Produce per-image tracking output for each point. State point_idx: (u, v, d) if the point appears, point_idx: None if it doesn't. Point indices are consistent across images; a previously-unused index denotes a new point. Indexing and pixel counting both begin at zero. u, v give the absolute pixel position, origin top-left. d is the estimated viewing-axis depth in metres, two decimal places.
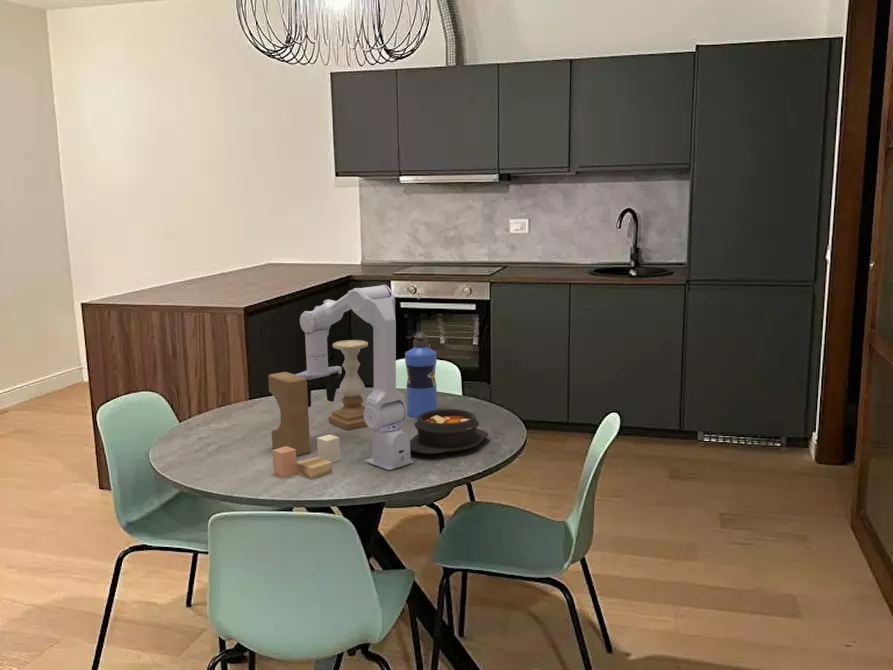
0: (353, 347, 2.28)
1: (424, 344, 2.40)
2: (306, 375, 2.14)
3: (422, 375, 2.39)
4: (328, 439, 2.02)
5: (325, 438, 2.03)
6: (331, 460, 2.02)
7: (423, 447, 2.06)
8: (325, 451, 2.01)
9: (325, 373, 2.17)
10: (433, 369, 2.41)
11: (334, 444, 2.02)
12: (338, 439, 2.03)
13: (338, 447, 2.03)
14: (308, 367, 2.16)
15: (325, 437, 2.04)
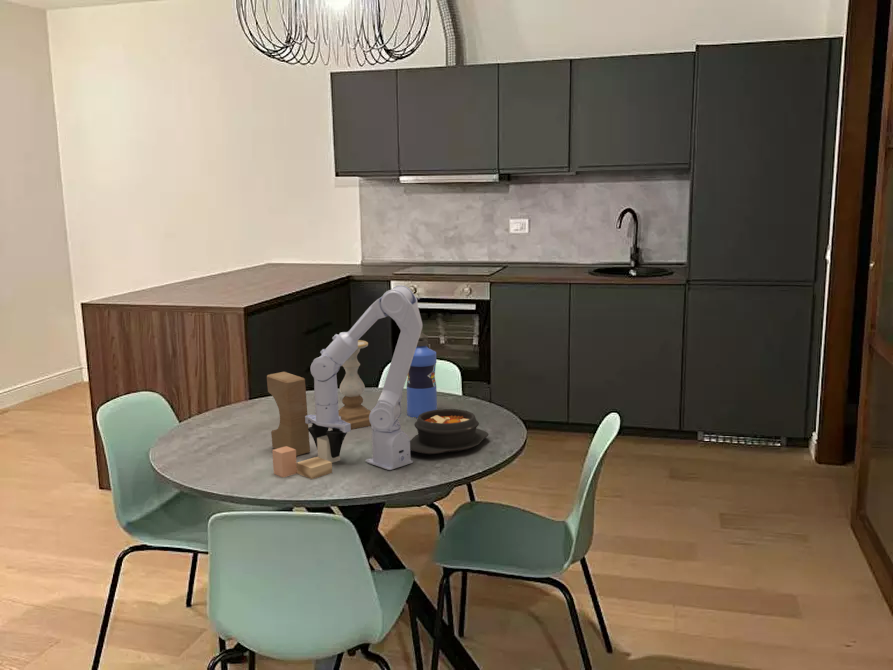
0: None
1: (424, 344, 2.40)
2: (310, 419, 2.04)
3: (422, 375, 2.39)
4: (328, 439, 2.02)
5: (325, 437, 2.03)
6: (331, 460, 2.02)
7: (423, 447, 2.06)
8: (325, 451, 2.01)
9: (319, 424, 2.00)
10: (433, 369, 2.41)
11: None
12: None
13: None
14: None
15: (325, 437, 2.04)
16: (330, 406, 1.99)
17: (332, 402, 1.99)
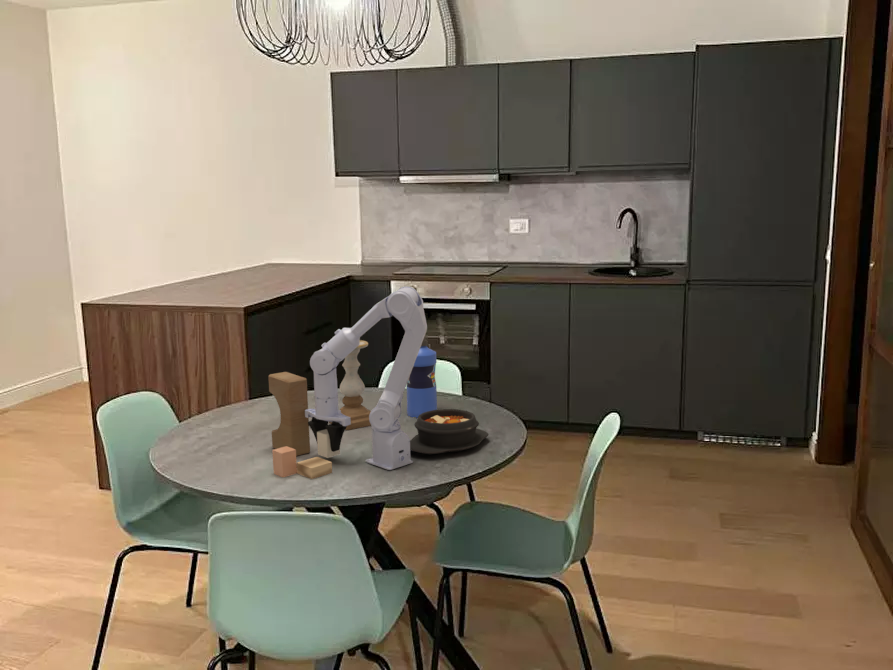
0: None
1: (424, 344, 2.40)
2: (309, 413, 2.04)
3: (422, 375, 2.39)
4: (328, 433, 2.02)
5: (325, 431, 2.03)
6: (331, 454, 2.02)
7: (423, 447, 2.06)
8: (325, 445, 2.01)
9: (319, 417, 2.00)
10: (433, 369, 2.41)
11: None
12: None
13: None
14: None
15: (325, 431, 2.03)
16: (330, 400, 1.99)
17: (332, 396, 1.99)
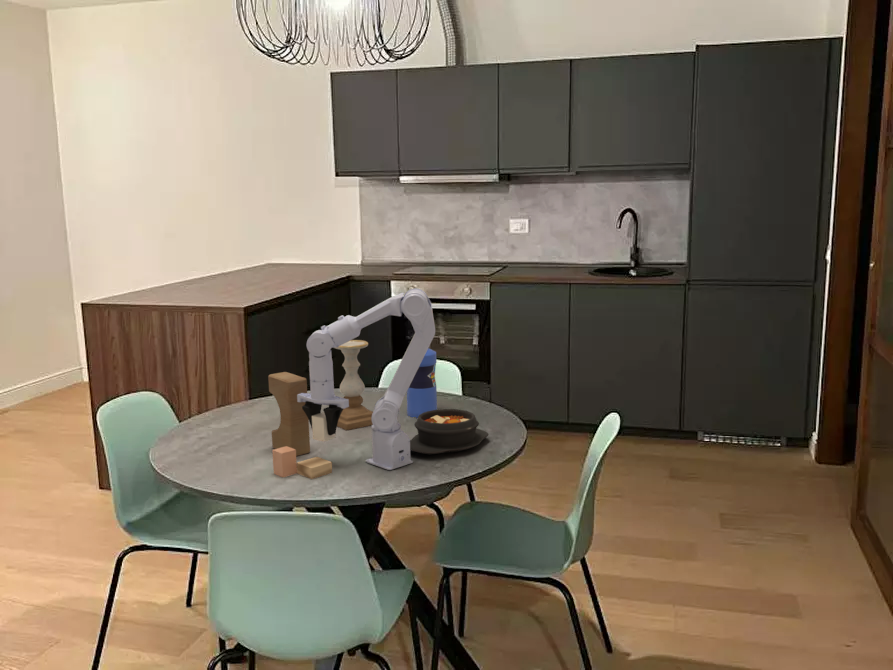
0: (353, 347, 2.28)
1: None
2: (303, 397, 2.00)
3: (422, 375, 2.39)
4: (324, 416, 1.98)
5: (320, 415, 1.99)
6: (327, 438, 1.99)
7: (423, 447, 2.06)
8: (322, 429, 1.98)
9: (316, 401, 1.96)
10: (433, 369, 2.41)
11: None
12: None
13: None
14: None
15: (320, 415, 2.00)
16: (327, 382, 1.96)
17: (329, 378, 1.96)
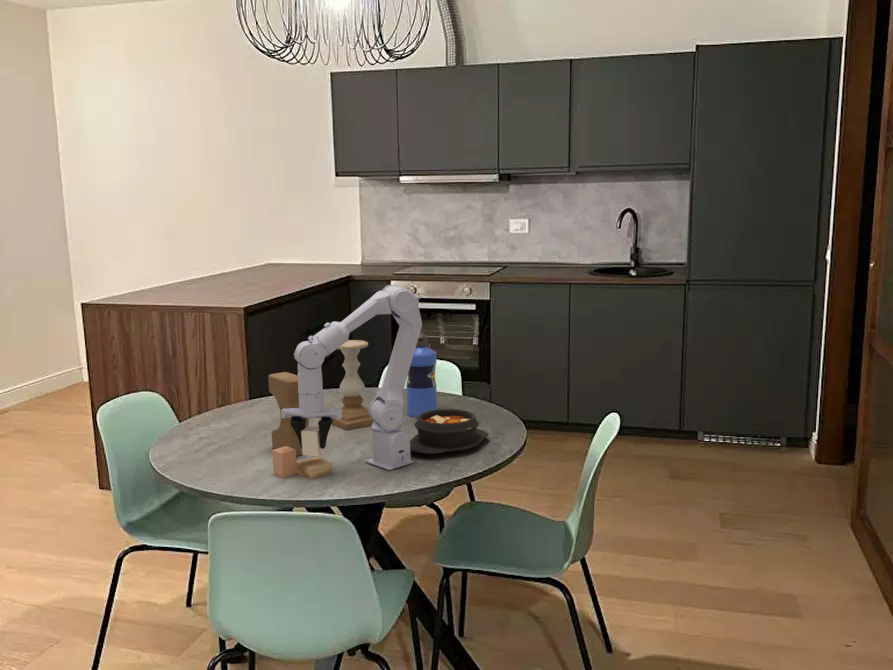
0: (353, 347, 2.28)
1: (424, 344, 2.40)
2: (290, 412, 1.92)
3: (421, 375, 2.39)
4: (315, 430, 1.92)
5: (310, 429, 1.93)
6: (319, 451, 1.93)
7: (423, 447, 2.06)
8: (314, 443, 1.92)
9: (309, 415, 1.90)
10: (433, 369, 2.41)
11: None
12: None
13: None
14: None
15: (309, 429, 1.93)
16: (320, 394, 1.90)
17: (321, 390, 1.91)
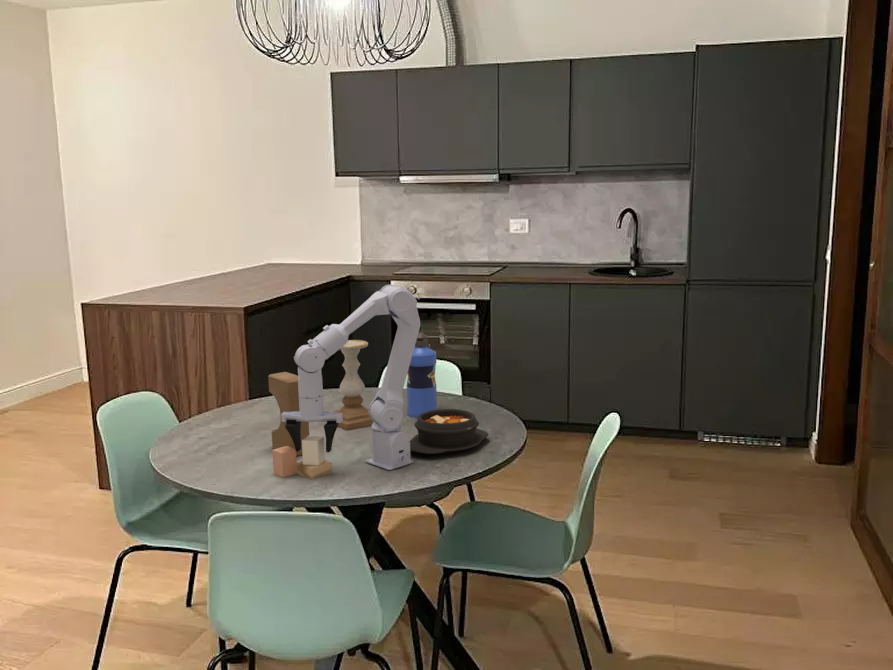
0: (353, 347, 2.28)
1: (424, 344, 2.40)
2: (290, 416, 1.92)
3: (422, 375, 2.39)
4: (316, 439, 1.93)
5: (310, 439, 1.93)
6: (320, 461, 1.93)
7: (423, 447, 2.06)
8: (315, 452, 1.92)
9: (309, 418, 1.90)
10: (433, 369, 2.41)
11: (321, 444, 1.94)
12: (323, 438, 1.95)
13: (323, 446, 1.95)
14: None
15: (309, 438, 1.94)
16: (320, 398, 1.91)
17: (321, 394, 1.91)
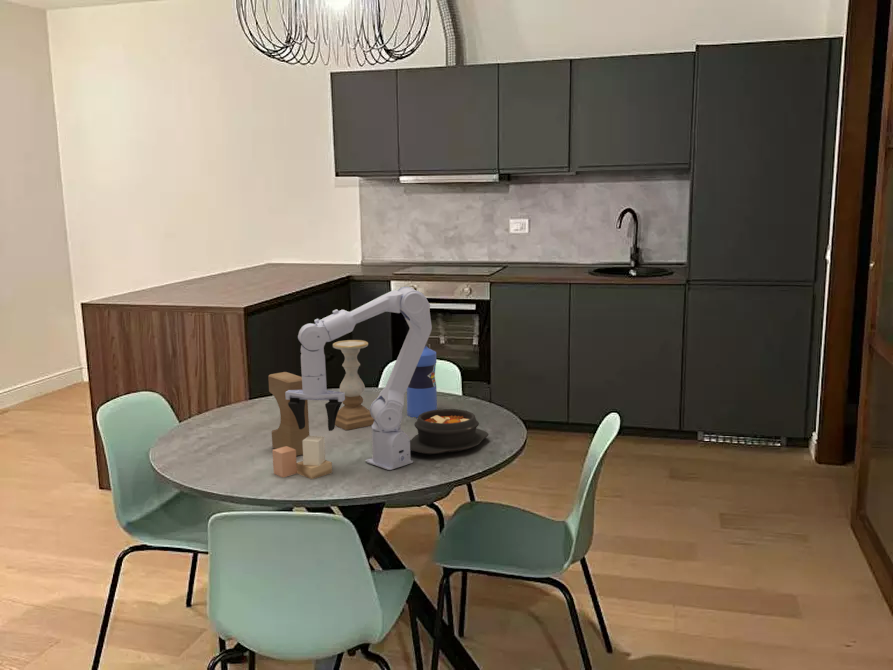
0: (353, 347, 2.28)
1: None
2: (294, 394, 1.94)
3: (422, 375, 2.39)
4: (317, 440, 1.93)
5: (311, 439, 1.93)
6: (321, 461, 1.93)
7: (423, 447, 2.06)
8: (316, 452, 1.92)
9: (311, 396, 1.91)
10: (433, 369, 2.41)
11: (321, 444, 1.94)
12: (323, 438, 1.95)
13: (324, 447, 1.95)
14: None
15: (310, 438, 1.93)
16: (322, 376, 1.92)
17: (323, 372, 1.92)
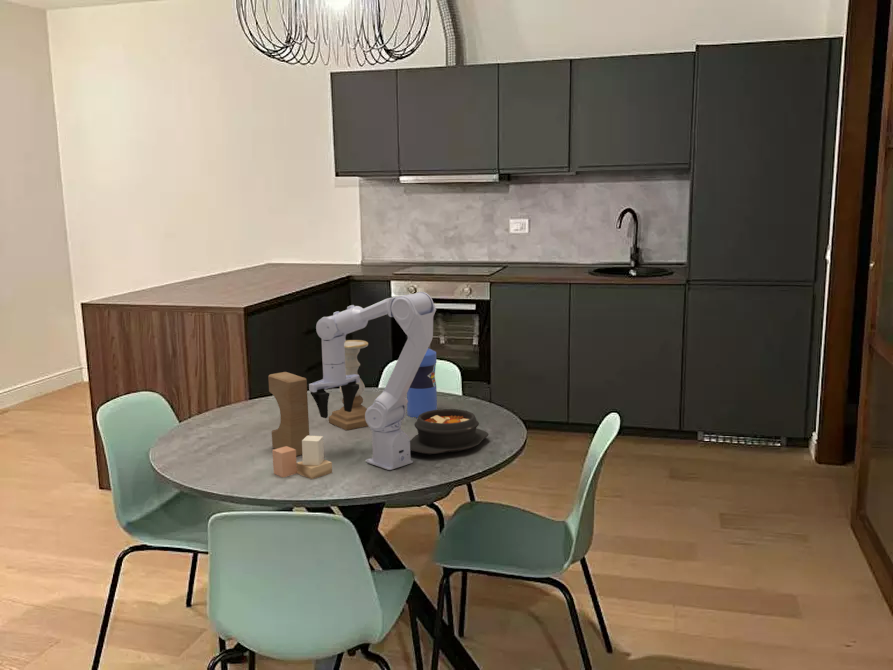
0: (353, 347, 2.28)
1: None
2: (323, 384, 2.02)
3: (422, 375, 2.39)
4: (316, 439, 1.93)
5: (310, 439, 1.93)
6: (320, 461, 1.94)
7: (423, 447, 2.06)
8: (315, 452, 1.92)
9: (343, 382, 2.05)
10: (433, 369, 2.41)
11: (321, 444, 1.94)
12: (322, 438, 1.95)
13: (322, 446, 1.95)
14: (325, 376, 2.04)
15: (309, 438, 1.94)
16: None
17: (335, 362, 2.03)
